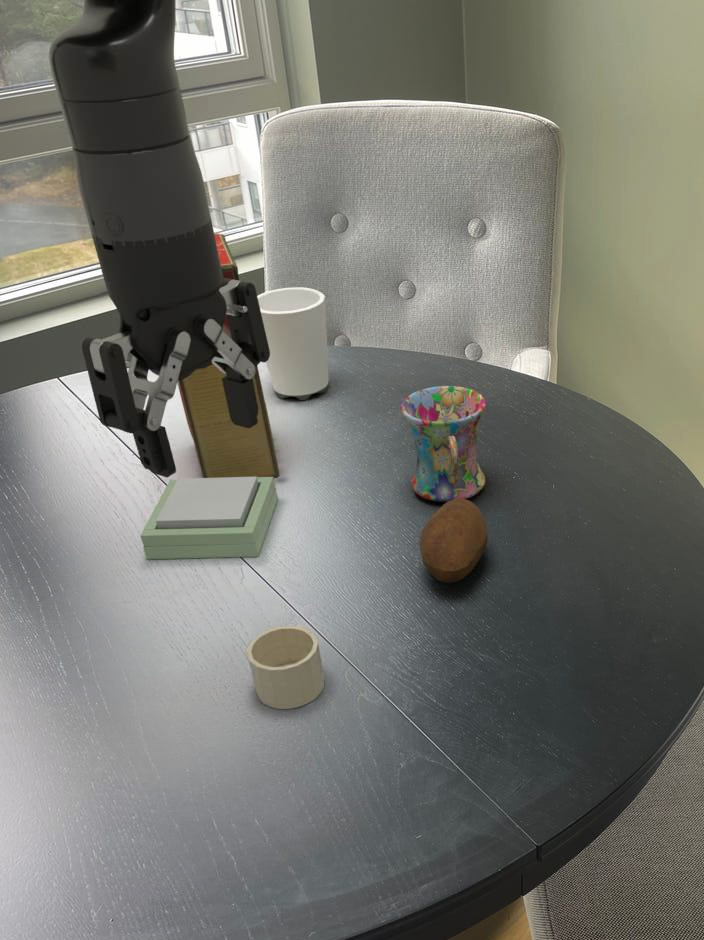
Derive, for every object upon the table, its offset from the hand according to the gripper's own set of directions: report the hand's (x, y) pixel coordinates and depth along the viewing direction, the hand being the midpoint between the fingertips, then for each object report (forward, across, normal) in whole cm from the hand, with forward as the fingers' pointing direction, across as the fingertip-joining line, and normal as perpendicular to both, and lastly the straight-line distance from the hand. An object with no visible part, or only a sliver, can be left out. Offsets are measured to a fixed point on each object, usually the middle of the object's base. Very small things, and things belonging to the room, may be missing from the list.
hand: (205, 448), depth 72 cm
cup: (+23, -50, -38) cm, 67 cm away
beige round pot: (+23, -1, +2) cm, 23 cm away
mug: (+24, -36, -4) cm, 43 cm away
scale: (+23, -17, -23) cm, 37 cm away
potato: (+24, -24, +5) cm, 34 cm away
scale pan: (+21, -17, -23) cm, 35 cm away
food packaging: (+23, -31, -32) cm, 50 cm away
